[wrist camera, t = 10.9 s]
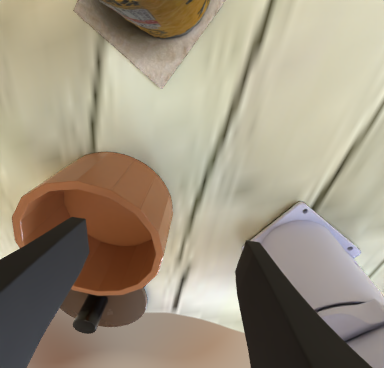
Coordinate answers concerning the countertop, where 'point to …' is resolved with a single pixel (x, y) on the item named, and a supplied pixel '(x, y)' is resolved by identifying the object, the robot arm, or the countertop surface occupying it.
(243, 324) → the robot arm
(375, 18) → the countertop surface
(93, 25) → the condiment
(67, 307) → the pot lid
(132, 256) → the terracotta bowl
